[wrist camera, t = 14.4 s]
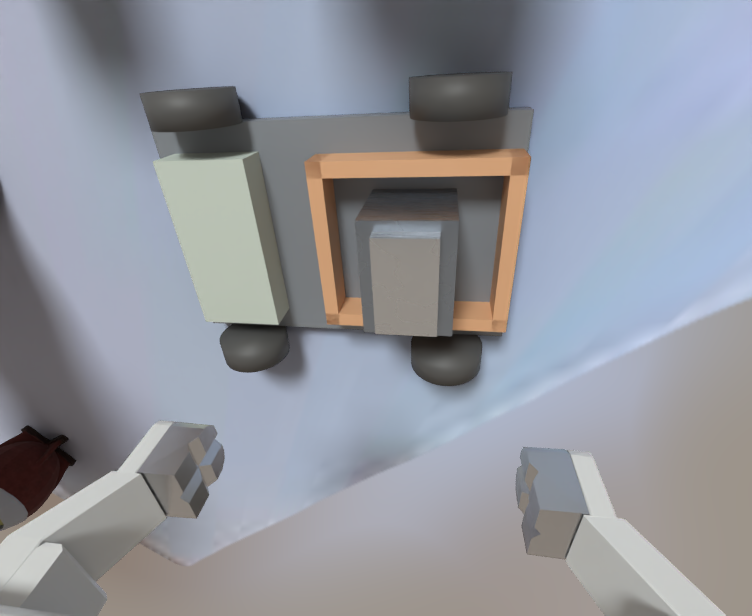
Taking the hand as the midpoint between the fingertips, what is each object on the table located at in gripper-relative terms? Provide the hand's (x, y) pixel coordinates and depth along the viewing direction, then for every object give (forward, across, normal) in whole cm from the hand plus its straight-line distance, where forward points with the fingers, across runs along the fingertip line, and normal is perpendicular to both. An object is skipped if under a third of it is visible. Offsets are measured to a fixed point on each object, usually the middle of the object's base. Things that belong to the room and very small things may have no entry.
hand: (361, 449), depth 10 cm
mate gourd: (+17, +39, +24) cm, 49 cm away
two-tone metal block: (+15, -1, 0) cm, 15 cm away
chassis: (+16, +4, 0) cm, 16 cm away
